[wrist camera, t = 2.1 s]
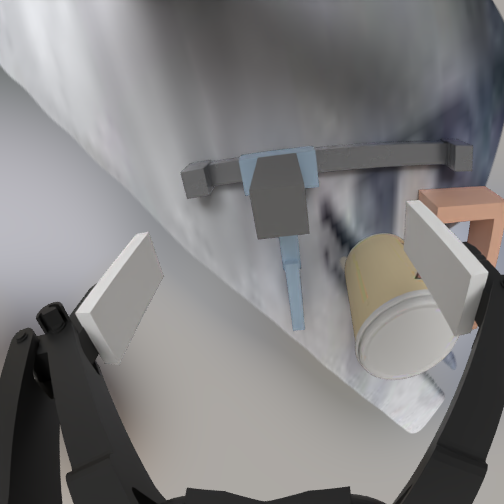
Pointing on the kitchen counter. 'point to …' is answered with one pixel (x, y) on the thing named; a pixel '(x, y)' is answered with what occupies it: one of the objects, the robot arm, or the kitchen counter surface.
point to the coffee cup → (393, 311)
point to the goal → (470, 215)
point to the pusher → (282, 207)
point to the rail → (340, 161)
